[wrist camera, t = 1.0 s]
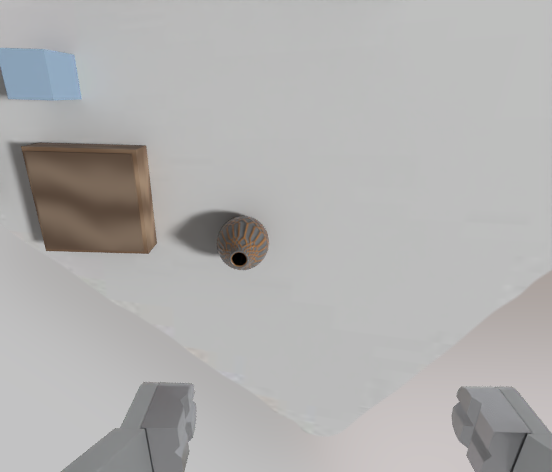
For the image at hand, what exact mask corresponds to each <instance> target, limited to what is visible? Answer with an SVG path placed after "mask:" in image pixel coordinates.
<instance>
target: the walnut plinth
mask: <svg viewBox="0 0 552 472" xmlns="http://www.w3.org/2000/svg"><path fill="white" fill-rule="evenodd" d="M21 148H22V152H23V157H24V161H25V165H26V169H27V173H28V177H29V182H30V186H31V190H32V194H33V198H34V202H35V206H36V211H37V215H38V219H39V223H40V227H41V231H42V236H43V240H44V244H45V248H46V251H69V252H105V253H141V254H149V252H150V251H151V250H152V249H153V247H154V246H155V245H156V244H157V241H156V231H155V222H154V213H153V204H152V195H151V186H150V177H149V168H148V158H147V149H146V146H142V145H106V144H71V143H35V144H31V145H26V146H21Z"/></svg>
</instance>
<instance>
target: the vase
mask: <svg viewBox="0 0 552 472" xmlns="http://www.w3.org/2000/svg"><path fill="white" fill-rule="evenodd" d="M268 245H269V240H268V234H267V232H266V230H265V228H264V226H263V225H262V224H261V223H260V222H259V221H257V220H256V219H254V218H252V217H248V216H239V217H235V218H233V219H231V220H229V221H228V222H227V223H226V224H225V225H224V226H223V227H222V229H221V230H220V232H219V235H218V239H217V249H218V252H219V255H220V257H221V259H222V260H223V261H224V262H225V263H226V264H227V265H228V266H230V267H231V268H234V269H237V270H247V269H251V268H253V267H255V266H257V265H258V264H259V263H260V262H261V261H262V260H263V259H264V257H265V255H266V253H267V251H268Z"/></svg>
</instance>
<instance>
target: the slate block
mask: <svg viewBox="0 0 552 472" xmlns="http://www.w3.org/2000/svg"><path fill="white" fill-rule="evenodd" d="M0 67H1V71H2V75H3V79H4V83H5V87H6V91H7V96H8V99H27V100H73V99H82V98H81V92H80V86H79V80H78V74H77V68H76V62H75V56H74V55H73V54H68V53H62V52H56V51H51V50H45V49H19V48H0Z"/></svg>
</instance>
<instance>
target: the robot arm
mask: <svg viewBox="0 0 552 472" xmlns="http://www.w3.org/2000/svg"><path fill="white" fill-rule="evenodd" d="M194 393H195V392H194V385H193V384H190V383H166V382H160V383H156V382H144V383H143V384H142V385H141V386H140V387H139V389H138V391H137V393H136V396H135V398H134V400H133V402H132V404H131V406H130V408H129V410H128V413H127V415H126V417H125V419H124V421H123V423H122V425H121V427H120V428H115V429H114V430H112V431H111V432H110V433H109V434H107V435H106V436H105V437H104V438H102V439H101V440H100V441H98V442H97V443H96V444H95V445H93V446H92V447H91V448H90V449H88V450H87V451H86V452H85V453H83V454H82V455H81V456H80V457H78V458H77V459H76V460H75V461H73V462H72V463H71V464H70V465H68V466H67V467H66V468H65V469H63V470H62V471H61V472H184V470H185V467H186V463H187V459H188V455H189V446H188V442H189V441H190V440H191V439H192V438H193V434H194V430H195V424H196V404H195V403H194V402H193V397H194ZM457 398H458V400H459V401H460V402H459V403H458V404H457V405H455V406H454V407H453V412H452V425H453V428H454V431H455V434H456V436H457V438H458V440H459V441H460V442H461V443H462V444H463V445H465V446H466V447H467V448H468V451H467V458H468V459H469V461H470V463H471V465H472V467H473V469H474V471H475V472H552V433H551V432H550V431H549V430H548V428H547V427H546V426H545V425H544V423H543V422H542V421H541V420H540V419H539V417H538V416H537V415H536V413H535V412H534V411H533V410H532V408H531V407H530V406H529V405H528V403H527V402H526V401H525V400H524V398H523V397H521V395H520V393H519V392H518V391H517V390H516V389H515V388H513V387H461V388H459V390H458V392H457Z"/></svg>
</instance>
